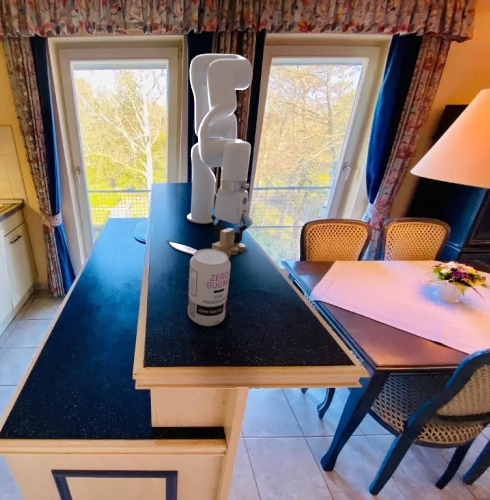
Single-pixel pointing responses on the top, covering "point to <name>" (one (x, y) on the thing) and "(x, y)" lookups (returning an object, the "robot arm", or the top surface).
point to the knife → (184, 248)
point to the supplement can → (208, 286)
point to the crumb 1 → (227, 252)
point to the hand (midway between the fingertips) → (227, 238)
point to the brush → (225, 240)
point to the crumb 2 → (240, 247)
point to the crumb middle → (233, 250)
